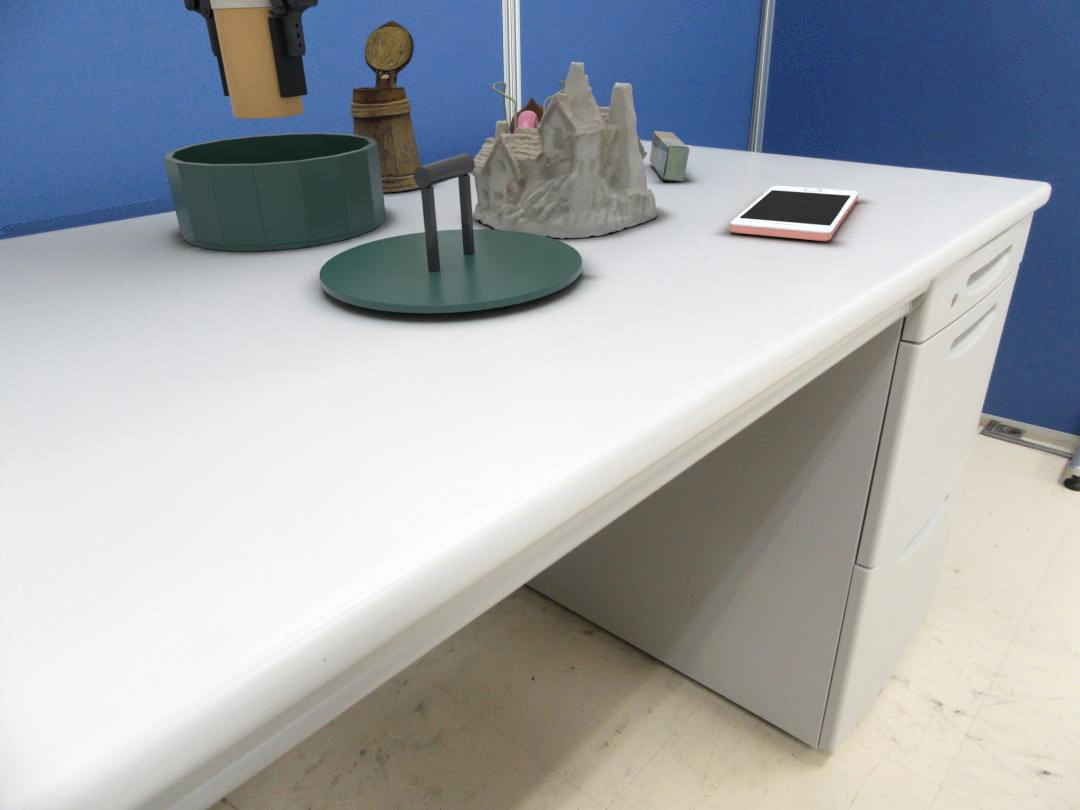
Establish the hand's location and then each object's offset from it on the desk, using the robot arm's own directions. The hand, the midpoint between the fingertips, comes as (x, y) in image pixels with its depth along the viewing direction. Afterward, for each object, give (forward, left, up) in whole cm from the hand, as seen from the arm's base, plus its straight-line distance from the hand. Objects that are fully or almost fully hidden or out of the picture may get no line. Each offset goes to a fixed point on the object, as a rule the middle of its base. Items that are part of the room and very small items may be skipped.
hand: (265, 94), depth 74 cm
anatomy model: (+10, +34, -12) cm, 37 cm away
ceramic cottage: (+25, +13, -12) cm, 31 cm away
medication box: (+27, +39, -12) cm, 49 cm away
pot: (0, 0, -12) cm, 12 cm away
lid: (+25, -8, -12) cm, 29 cm away
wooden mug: (-3, +22, -12) cm, 25 cm away
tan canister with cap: (0, 0, -2) cm, 2 cm away
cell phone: (+46, +21, -12) cm, 52 cm away
